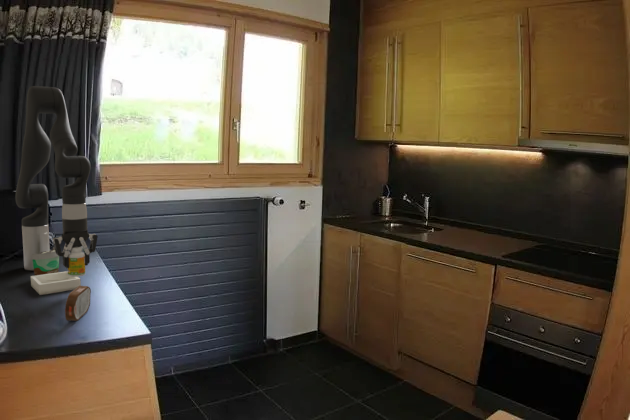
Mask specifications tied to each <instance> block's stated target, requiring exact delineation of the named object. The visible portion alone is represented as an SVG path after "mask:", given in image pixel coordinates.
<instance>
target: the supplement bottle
mask: <svg viewBox="0 0 630 420" xmlns="http://www.w3.org/2000/svg"><path fill="white" fill-rule="evenodd" d="M68 257H69V268H67V271H68V275H69V276H71V277H79V278H80V277H83V276H86V266H85V254H84V251H83V248H82V246H81V247H77V246H76V247H72V248H71V250H70V252H69V254H68Z"/></svg>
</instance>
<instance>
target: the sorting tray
mask: <svg viewBox="0 0 630 420" xmlns="http://www.w3.org/2000/svg"><path fill="white" fill-rule="evenodd" d="M81 283H82V282H81V278H80V276H79V277H71V276H69V275H68V270H66V271H58V273H51V274H43V275H36V276H35V275H30V286H31V287H32V288H33V290H35V292H36V293H37V294H39V296H42V295H49V294H56V293H62V292H67V291H73V290H75V289H76V288H77V287H79V286H82V284H81Z"/></svg>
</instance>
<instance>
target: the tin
mask: <svg viewBox="0 0 630 420" xmlns="http://www.w3.org/2000/svg"><path fill="white" fill-rule="evenodd" d="M91 293H92V291H91V288H90V286H88V285H87V286H86V285H81V286H79V287H77V288H76V289H75V290H71V292H70V293H69V294H68V296H67V298H66V301H65V302H66V303H65V308H64V314H65V315H64V316H65V319H66V321H68V322H69V321H70V322H73V321H74V322H78V321H79V320H80V319H81V318H82V317H83V316H85V315H86V314H87V312H88V311H89V310H90V305H91Z"/></svg>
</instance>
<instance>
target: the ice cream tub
mask: <svg viewBox="0 0 630 420" xmlns="http://www.w3.org/2000/svg"><path fill="white" fill-rule="evenodd" d="M31 259H32V260H33V268H34V270H33V273H34V275H33V276H36V275H43V274H51V273H58V272H60V271H59V269H60V256H58V255H57V254H56V251H55V247H54V246H52V249H50V251H44V252H41V253H39V254H32V255H31Z"/></svg>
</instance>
